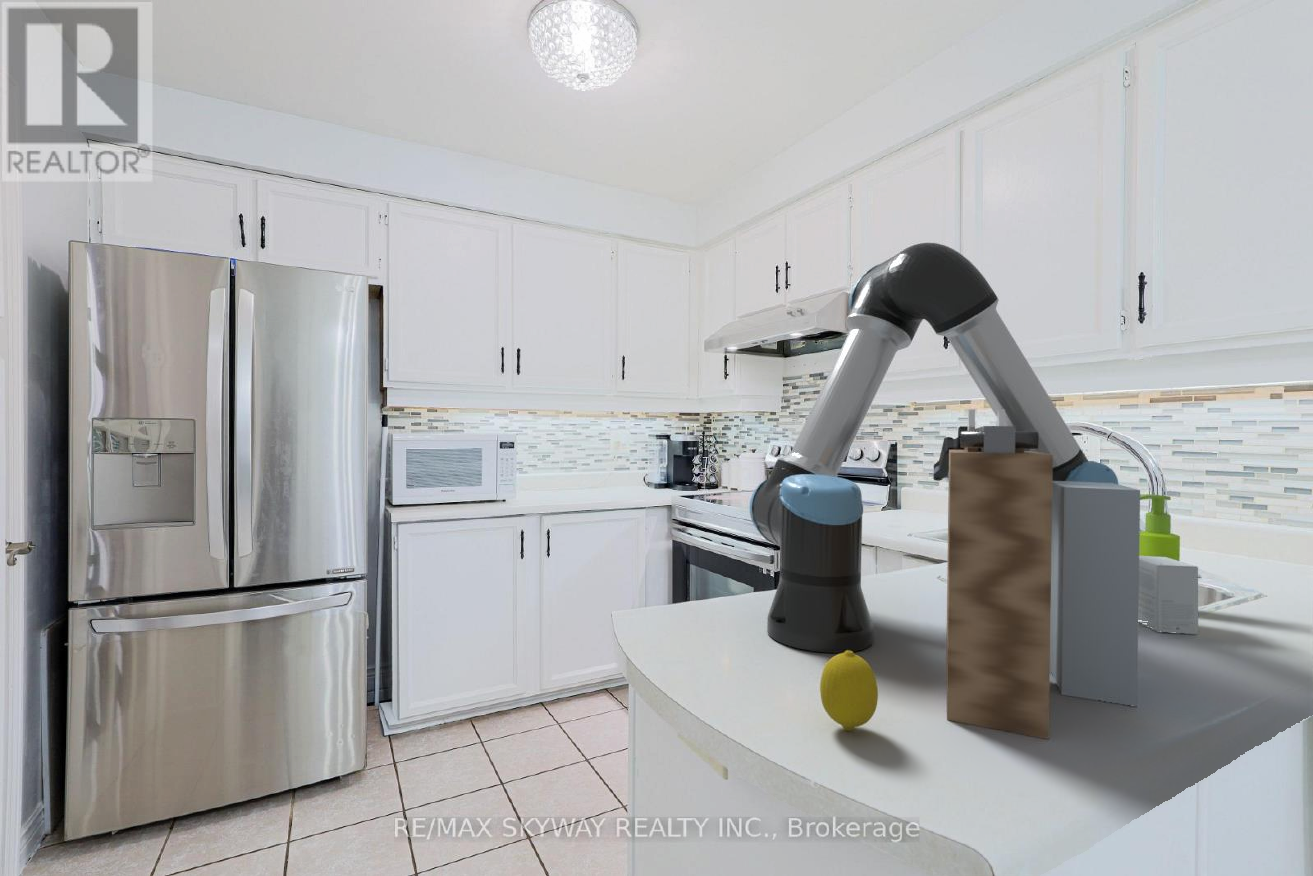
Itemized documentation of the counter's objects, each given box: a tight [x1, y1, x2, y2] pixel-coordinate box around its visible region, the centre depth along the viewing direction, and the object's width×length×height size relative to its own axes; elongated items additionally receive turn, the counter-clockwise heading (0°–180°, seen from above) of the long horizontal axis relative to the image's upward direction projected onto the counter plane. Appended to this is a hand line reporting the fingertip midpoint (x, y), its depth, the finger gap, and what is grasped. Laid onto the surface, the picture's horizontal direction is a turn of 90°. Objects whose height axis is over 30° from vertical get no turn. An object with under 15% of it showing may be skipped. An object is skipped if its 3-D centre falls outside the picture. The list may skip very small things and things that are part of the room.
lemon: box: [819, 650, 879, 732], centre depth 60 cm, size 6×6×8 cm
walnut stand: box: [945, 448, 1053, 740], centre depth 69 cm, size 9×18×29 cm, turn 155°
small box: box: [1138, 556, 1199, 635], centre depth 96 cm, size 8×6×10 cm
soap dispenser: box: [1139, 493, 1181, 562], centre depth 106 cm, size 6×7×20 cm
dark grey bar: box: [961, 425, 1039, 454], centre depth 74 cm, size 7×28×3 cm, turn 154°
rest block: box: [1050, 481, 1141, 707], centre depth 73 cm, size 7×12×24 cm, turn 154°
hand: (986, 418), depth 80 cm, fingers closed on dark grey bar, 3 cm apart
